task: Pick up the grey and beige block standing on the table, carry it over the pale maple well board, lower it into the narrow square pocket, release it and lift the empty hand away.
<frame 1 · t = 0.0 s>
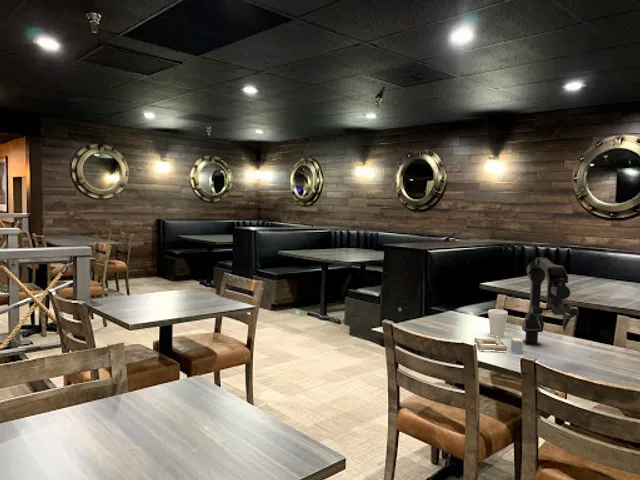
hand: (552, 329, 212), 15 cm above the table, tool pointing down, fingers open, 9 cm apart
grey and beige block: (516, 351, 227), on the table
well: (490, 347, 234), on the table
foam cup: (497, 336, 253), on the table
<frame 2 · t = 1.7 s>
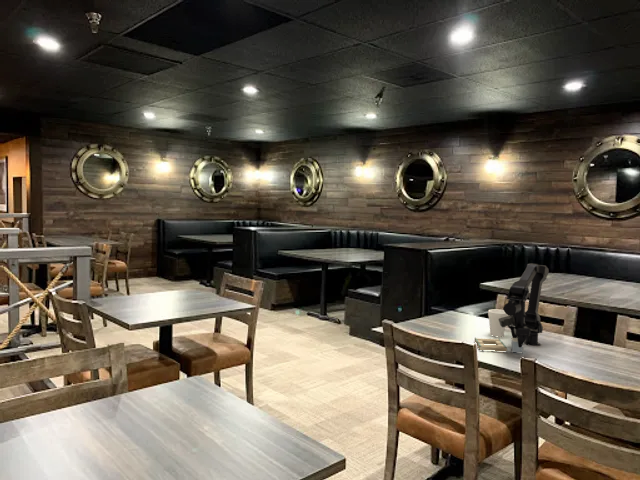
hand: (517, 344, 227), 4 cm above the table, tool pointing down, fingers open, 9 cm apart
nothing on the table moved.
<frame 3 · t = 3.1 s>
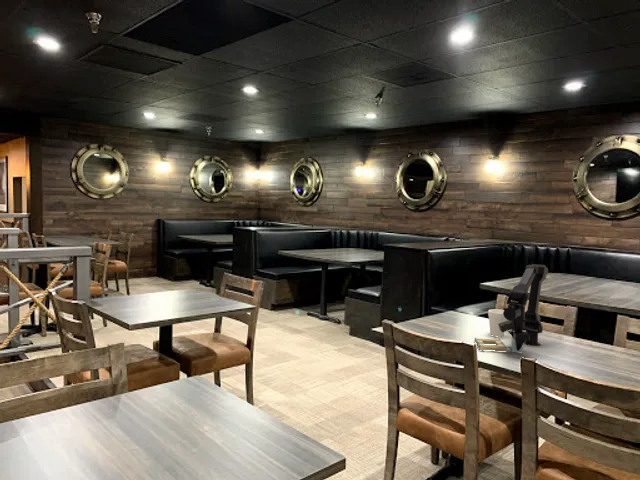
hand: (516, 349, 227), 1 cm above the table, tool pointing down, fingers closed on grey and beige block, 4 cm apart
grey and beige block: (516, 351, 227), on the table, touching gripper
everything else where it was.
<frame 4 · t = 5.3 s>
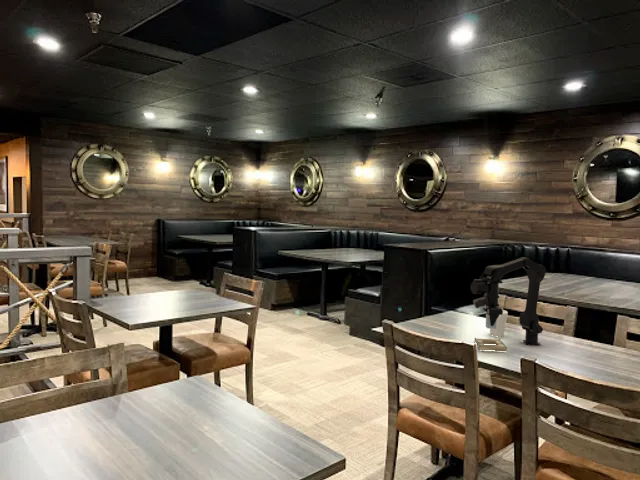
hand: (491, 324, 233), 11 cm above the table, tool pointing down, fingers closed on grey and beige block, 4 cm apart
grey and beige block: (490, 327, 233), point 10 cm above the table, touching gripper
everything else where it was.
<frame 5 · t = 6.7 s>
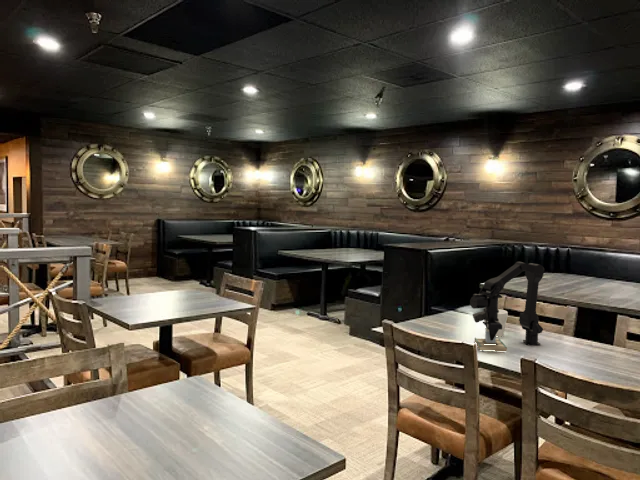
hand: (490, 338, 233), 4 cm above the table, tool pointing down, fingers closed on grey and beige block, 4 cm apart
grey and beige block: (490, 341, 234), point 3 cm above the table, touching gripper
everything else where it was.
when the fingers open (3 cm above the table, at t = 7.8 s): grey and beige block drops 2 cm, resting in well.
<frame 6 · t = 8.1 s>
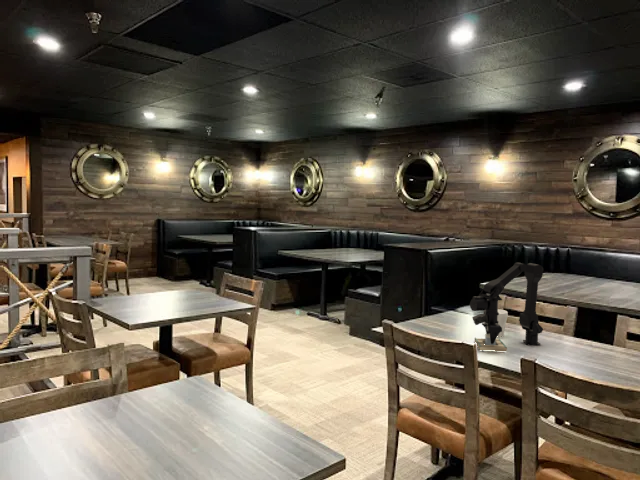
hand: (490, 341, 233), 3 cm above the table, tool pointing down, fingers open, 7 cm apart
grey and beige block: (490, 347, 234), resting in well
everything else where it was.
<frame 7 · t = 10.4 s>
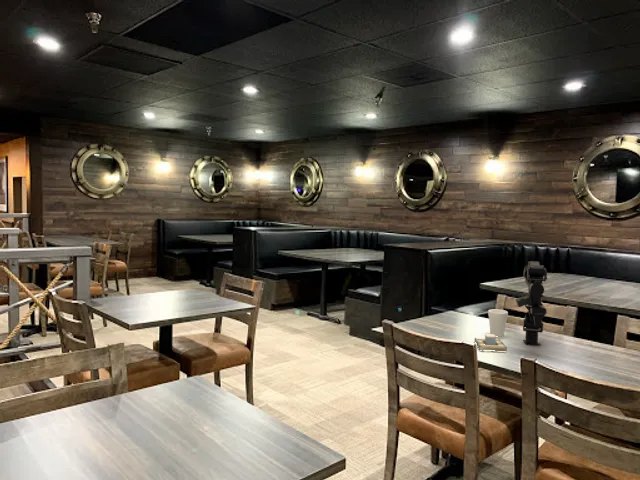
hand: (534, 324, 229), 13 cm above the table, tool pointing down, fingers open, 9 cm apart
nothing on the table moved.
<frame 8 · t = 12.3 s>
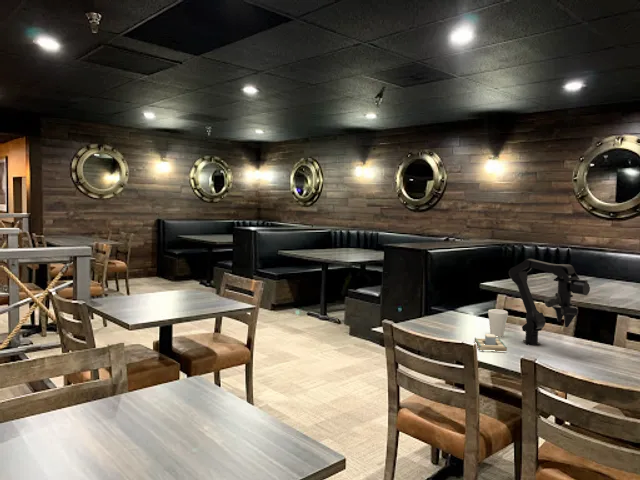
hand: (562, 324, 227), 13 cm above the table, tool pointing down, fingers open, 9 cm apart
nothing on the table moved.
at the end: grey and beige block 0.0 cm off-centre on the well, point 0.0 cm above the well's base; grey and beige block tilted 0°; the gripper is holding nothing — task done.
